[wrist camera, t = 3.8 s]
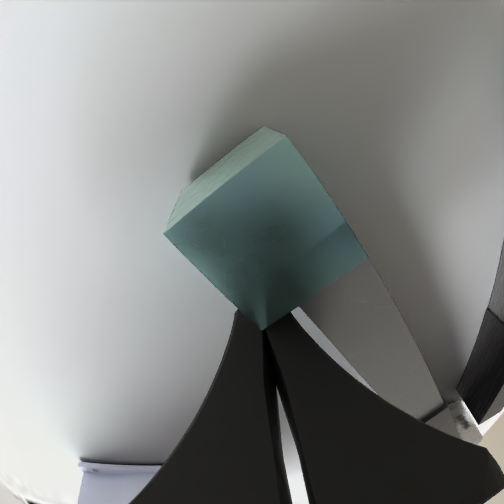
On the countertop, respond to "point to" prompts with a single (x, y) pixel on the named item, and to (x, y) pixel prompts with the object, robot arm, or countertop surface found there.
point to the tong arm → (304, 269)
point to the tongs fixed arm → (487, 359)
